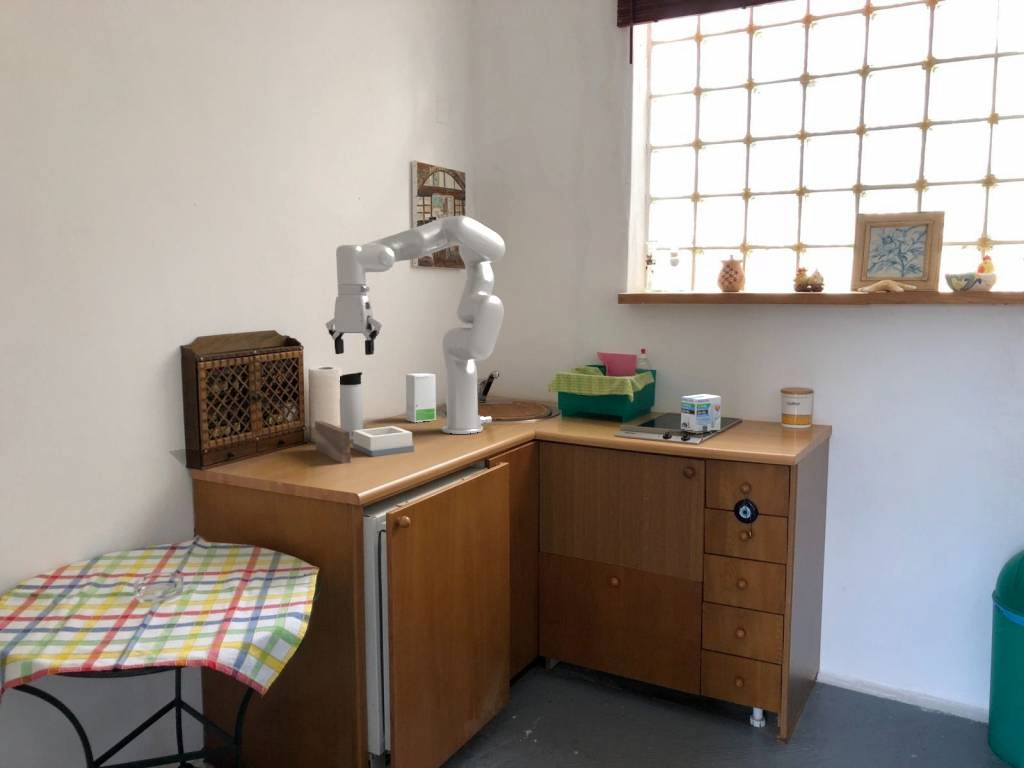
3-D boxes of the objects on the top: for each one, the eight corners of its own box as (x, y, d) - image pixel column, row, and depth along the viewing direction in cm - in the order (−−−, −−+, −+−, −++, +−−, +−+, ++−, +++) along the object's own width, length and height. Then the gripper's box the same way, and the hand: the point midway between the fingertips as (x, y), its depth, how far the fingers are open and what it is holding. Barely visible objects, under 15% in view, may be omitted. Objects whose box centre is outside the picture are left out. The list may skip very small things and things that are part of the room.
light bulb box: (696, 435, 235) (696, 398, 234) (679, 431, 241) (680, 396, 240) (721, 431, 241) (722, 395, 240) (704, 427, 247) (705, 393, 245)
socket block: (392, 442, 226) (391, 425, 225) (414, 451, 214) (413, 432, 214) (352, 447, 219) (351, 429, 219) (372, 456, 208) (372, 437, 207)
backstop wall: (322, 449, 218) (321, 420, 217) (350, 462, 201) (349, 431, 200) (315, 450, 217) (314, 421, 216) (342, 463, 200) (341, 432, 199)
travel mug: (359, 443, 225) (357, 373, 223) (337, 443, 226) (334, 373, 224) (367, 439, 231) (365, 371, 229) (346, 438, 233) (343, 370, 230)
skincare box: (414, 423, 258) (413, 375, 256) (405, 420, 263) (404, 373, 261) (437, 420, 262) (436, 374, 260) (428, 418, 268) (427, 372, 266)
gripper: (386, 290, 215) (388, 353, 218) (333, 291, 222) (336, 352, 224) (371, 291, 209) (373, 356, 211) (317, 291, 215) (320, 354, 218)
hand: (354, 354), depth 218 cm, fingers open, 9 cm apart
